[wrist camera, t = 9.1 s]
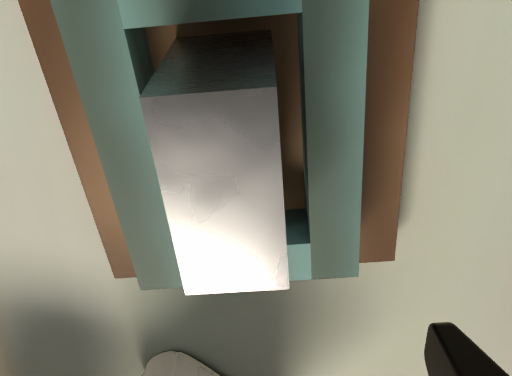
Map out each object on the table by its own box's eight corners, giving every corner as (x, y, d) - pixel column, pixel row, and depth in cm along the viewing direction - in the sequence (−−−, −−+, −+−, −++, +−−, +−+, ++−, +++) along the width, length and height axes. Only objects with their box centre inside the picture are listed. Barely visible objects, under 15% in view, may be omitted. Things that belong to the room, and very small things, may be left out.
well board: (417, -136, 15) (463, -147, 12) (387, 241, 24) (408, 298, 20) (8, -91, 16) (-61, -89, 12) (122, 258, 24) (100, 316, 21)
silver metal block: (271, 29, 16) (276, 86, 11) (282, 191, 20) (289, 289, 15) (176, 37, 17) (138, 97, 12) (203, 196, 20) (185, 295, 15)
